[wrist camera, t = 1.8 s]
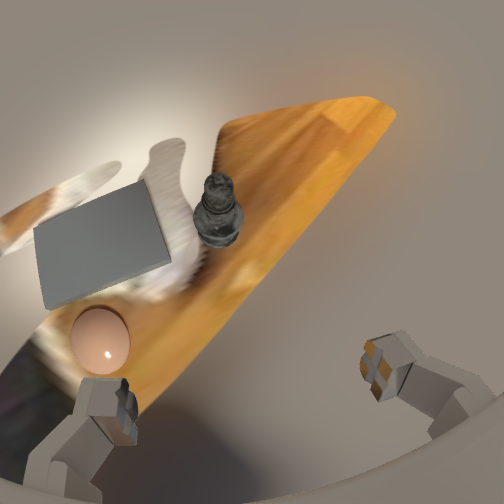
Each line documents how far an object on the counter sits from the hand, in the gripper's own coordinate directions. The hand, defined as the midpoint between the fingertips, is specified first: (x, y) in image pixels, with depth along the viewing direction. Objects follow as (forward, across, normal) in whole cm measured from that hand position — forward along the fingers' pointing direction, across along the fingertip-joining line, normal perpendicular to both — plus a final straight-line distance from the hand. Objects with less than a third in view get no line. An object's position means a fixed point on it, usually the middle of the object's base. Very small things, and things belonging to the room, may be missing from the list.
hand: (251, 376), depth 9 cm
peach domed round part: (+20, +15, +15) cm, 30 cm away
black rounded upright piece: (+29, -1, +6) cm, 30 cm away
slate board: (+29, +16, +6) cm, 33 cm away
